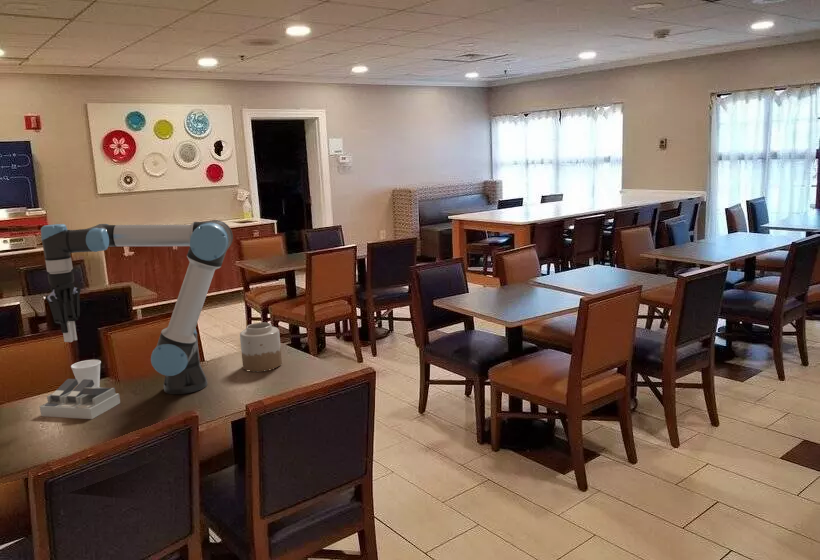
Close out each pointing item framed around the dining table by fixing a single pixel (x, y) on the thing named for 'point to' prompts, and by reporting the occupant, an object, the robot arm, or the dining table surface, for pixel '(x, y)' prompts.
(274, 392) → the dining table surface
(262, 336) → the vase
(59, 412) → the switch unit
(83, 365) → the cup
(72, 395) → the rocker
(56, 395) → the rocker
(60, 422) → the dining table surface
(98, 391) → the rocker
